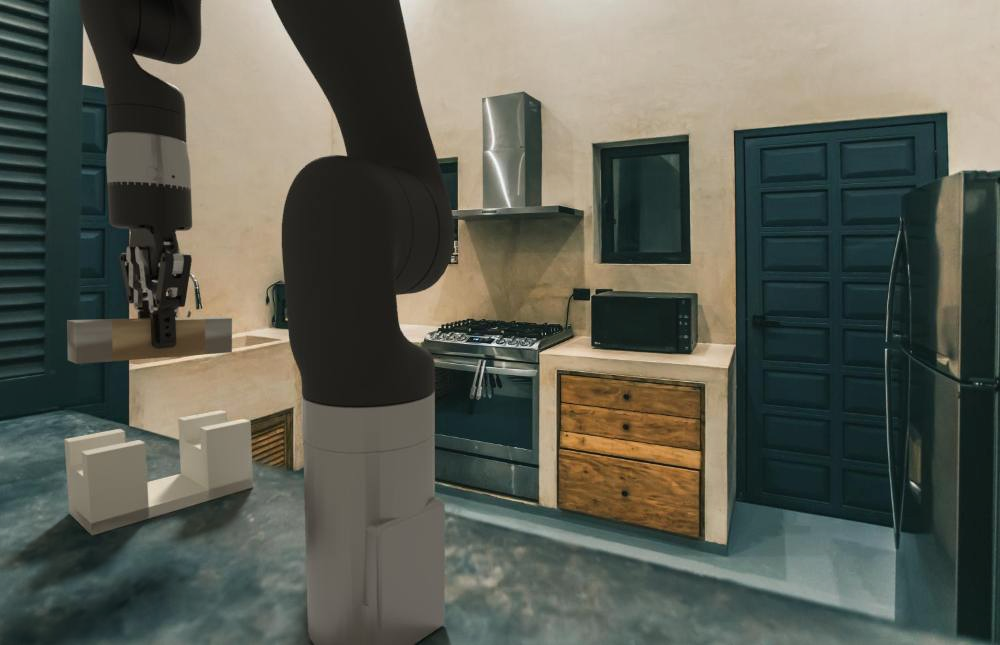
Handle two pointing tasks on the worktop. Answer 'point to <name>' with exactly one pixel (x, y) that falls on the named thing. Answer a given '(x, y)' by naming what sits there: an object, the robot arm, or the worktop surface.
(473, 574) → the worktop surface
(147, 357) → the rail
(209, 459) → the white notched block
